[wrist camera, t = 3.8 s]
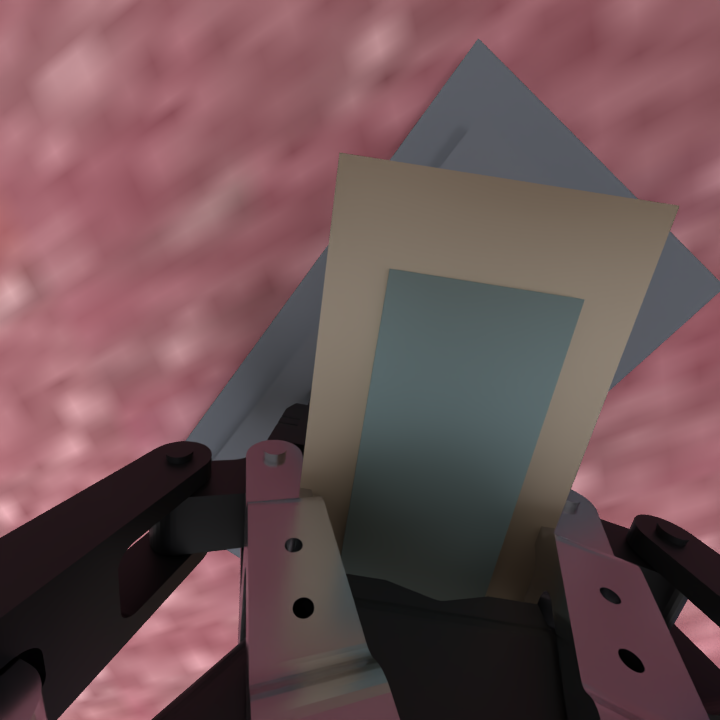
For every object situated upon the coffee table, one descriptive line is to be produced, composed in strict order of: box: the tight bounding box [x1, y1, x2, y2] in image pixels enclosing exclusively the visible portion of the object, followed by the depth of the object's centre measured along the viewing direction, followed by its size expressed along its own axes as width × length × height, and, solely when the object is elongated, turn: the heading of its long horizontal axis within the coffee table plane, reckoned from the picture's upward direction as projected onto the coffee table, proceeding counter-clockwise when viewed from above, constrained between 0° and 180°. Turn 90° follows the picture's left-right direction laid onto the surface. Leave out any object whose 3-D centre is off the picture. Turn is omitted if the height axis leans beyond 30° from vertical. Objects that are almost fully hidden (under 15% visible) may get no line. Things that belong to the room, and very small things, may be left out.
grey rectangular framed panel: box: [186, 39, 720, 558], centre depth 14 cm, size 22×12×3 cm, turn 141°
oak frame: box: [300, 153, 679, 602], centre depth 10 cm, size 14×5×6 cm, turn 171°
